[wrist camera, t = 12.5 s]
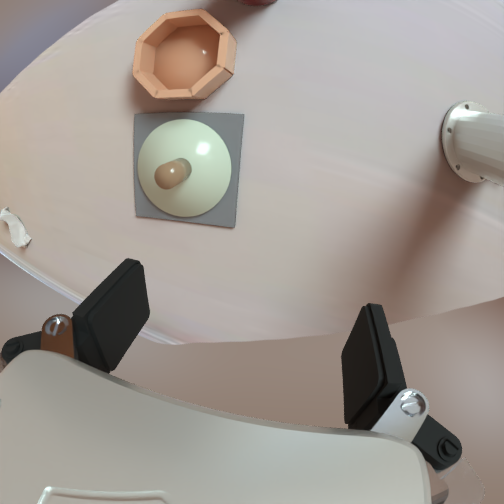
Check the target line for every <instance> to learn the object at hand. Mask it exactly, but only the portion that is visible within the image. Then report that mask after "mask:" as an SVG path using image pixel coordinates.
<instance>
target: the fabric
mask: <svg viewBox="0 0 504 504" xmlns="http://www.w3.org/2000/svg"><path fill="white" fill-rule="evenodd" d="M7 209H8V207H6V208H3V209H2V210H1V211H0V220H4V221H6V223H8V226H9V230H10V234H11V238H12V242H13V243H14V244H15V246H16V247H20V246H21V247H24V248H27V246H26V245H27V244H29V241H30V240H31V239H32V238H31V237H30V236H29V235H28V234H27V231H26V229H25V227H24V225H23V224H22V222H21V221H20V220H19V219H18V217H16V216H15V215H12V214H11V213H10V212H9V211H8V210H7Z"/></svg>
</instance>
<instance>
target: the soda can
mask: <svg viewBox="0 0 504 504" xmlns="http://www.w3.org/2000/svg"><path fill="white" fill-rule="evenodd" d="M237 1H239V2H241V3H243V4H246V5H251V6H261V5H266V4H270V3H272V2H274V1H276V0H237Z"/></svg>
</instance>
